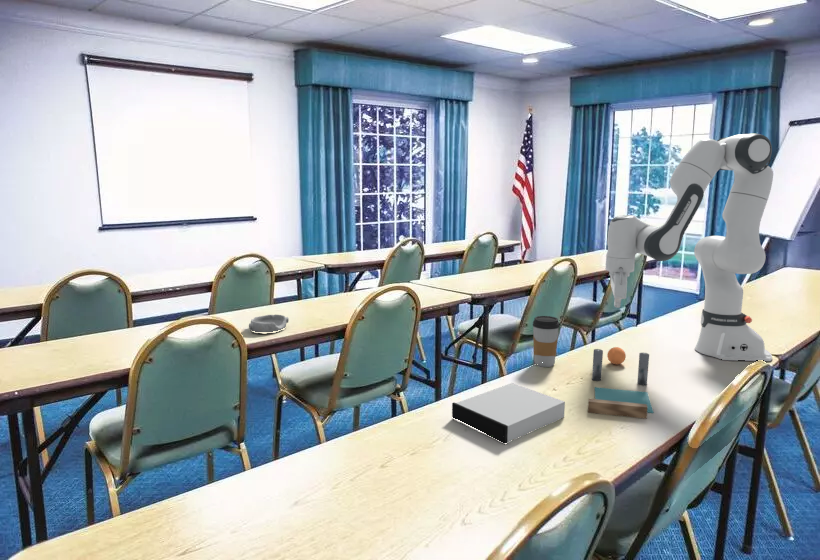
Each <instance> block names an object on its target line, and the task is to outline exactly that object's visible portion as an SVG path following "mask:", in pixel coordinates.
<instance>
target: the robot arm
mask: <svg viewBox="0 0 820 560" xmlns="http://www.w3.org/2000/svg"><path fill="white" fill-rule="evenodd" d="M772 152H773V147H772V142H771V140H770V139H769V137H767V136H766V135H764V134H760V133H753V132H752V133H742V134H741V133H740V134H735V135H731V136H729V137H722V138H719V139H717V140H716V139H713V138H703V139H699V141H697V142H696V143H695V144H694V145H693V146H692V147H691V148H690V149H689V150H688V152H687V153H686V154H685V155H684V157H682V158H681V160H680V162H679V163H678V164H677V165H676V168H675V169H674V170H673V173H672V174H671V177H670V179H669V180H670V181H669V183H670V188H671V190H672V192H673V193H674V195H676V197H677V199H676V204H675V205H674V207H673V209H672V211H671V212H670V214H669V216H668V217H667V219H666V221H665V223H663V224H662V225H661V226H659V227H658V226H653V225H652V224H651V225H650V224H648V223H645V222H644V221H642V220H640V219H638V218H637V217H636V216H635V215H633V214H627V215H625V214H623V215H617V216H615V217H613V218H612V219H611V220H610V223H609V225H608V232H607V241H606V245H607V252H606V255H605V257H606V258H605V269H604V270H606V271H607V272H609V273H608V276H610V279H609V281H610V286H611V287H610V289H611V290H612V294H613V306H614V308H616V309H617V308H618V309H619V308H621V304H622V300H626V299H627V293H628V292H627V291H628V289H627V288H628V277H630V276H631V275H630V273H634V272H635V265H636V264H635V261H636V255H637V254H639V255H640V254H641V255H643V256H645V257H649V258H651V259H653V260H656V261H658V262H666V261H669V260H671V259H673V258H674V257H675V256H676V255H677V254H678V252H679V251H680V247H681V244H682V241H683V237H684V234H685V233H686V232H687V229H688V227H689V225H690V224H691V221H692V220H693V219H694V217H695V215H696V213H697V211H698V209H699V208H700V205H701V204H702V201H703V200H704V196H705V195H704V193H705V191H706V189H707V188H708V186H709V184H710V183H711V181H712V180H713V178H714V177H715V175H716V174H717V172H718V171H719V170H720V171H733V175H734V179H733V184H732V186H731V189H730V191H729V194H728V197H727V198H726V199H727V200H726V203H725V206H724V209H723V212H722V217H721V218H722V219H723V221H724V223H725V225H726V234H725V236H723V235H710V236H708V235H707V236H704V237H702V238H700V239H699V240H698V241H697V243H696V244H695V245H694V246H695V247H694V249H693V250H694V251H693V252H694V257H695V259H696V260H697V262H698V263H699V265H700V267H701V271H702V276H703V280H704V286H705V288H704V289H705V292H704V302H703V303H704V307H703V309H702V312H701V316H700V319H701V320H700V326H701V328H700V332H699V337H698V340H697V343H696V345H695V346H694V349H695V351H696V352H698V353H700V354H703V355H704V356H709V357H713V358H716V359H719V360H721V359H722V361H738V360H745V362H749V361H750V362H757V361H756V360H764V361H763V362H771V361H772V360H773V356H772V353H771V352H770V351H769V350H767V349H766V348H765V342H764V341H765V340H764V339H763V337H762V336H761V335H760V334H759V333H758V332H756V331H755V330H754V329H753V328H752V327H751V326H749V325H748V324H751V323H752V321H753V319H752V317H750V316H749V315H746V314H745V313H743V312H742V308H743V299H744V289H743V287H742V285H741V284H740V283H739V281H738V278H737V275H751V274H752V275H753V274H755V273H757V272H759V271H760V270H761V269H762V268H763V266H764V264H765V262H766V256H767V255H766V251H765V249H764V248H763V246H762V245H761V239H760V226H761V221H762V217H763V214H764V211H765V208H766V206H767V203H768V200H769V198H770V193H771V190H772V187H773V186H772V185H773V181H774V171H773V169H772V167H770V166H769V165H770V164H771V161H772V158H771V157H772ZM736 274H737V275H736Z"/></svg>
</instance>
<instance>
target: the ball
mask: <svg viewBox="0 0 820 560" xmlns="http://www.w3.org/2000/svg"><path fill="white" fill-rule="evenodd" d="M626 356H627V355H626V351H625V350H624V349H622V348H621V347H619V346H613V347H612V348H610V349H608V351H607V355H606V357H607V359H608V361H609V362H610V363H611V364H613V365H621V364H622V363H624V362H625V360H626V358H627V357H626Z"/></svg>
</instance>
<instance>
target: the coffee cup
mask: <svg viewBox="0 0 820 560" xmlns="http://www.w3.org/2000/svg"><path fill="white" fill-rule="evenodd" d="M532 327H533V328H532V330H533V335H532V336H533V337H532V339H533V341H532V342H533V359H534V360H533V361H534V363H535V365H536V366H537V367H541V368H550V367H554V366H555V363H556V356H557V348H558V341H559V329H560V322H559V318H557V317H555V316H551V315H539V316H535V317H534V319H533V322H532ZM542 362H543V363H542ZM537 364H538V365H537Z"/></svg>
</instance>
